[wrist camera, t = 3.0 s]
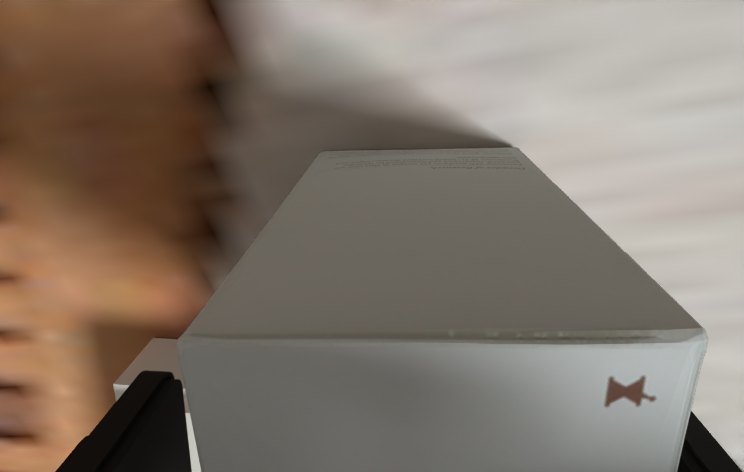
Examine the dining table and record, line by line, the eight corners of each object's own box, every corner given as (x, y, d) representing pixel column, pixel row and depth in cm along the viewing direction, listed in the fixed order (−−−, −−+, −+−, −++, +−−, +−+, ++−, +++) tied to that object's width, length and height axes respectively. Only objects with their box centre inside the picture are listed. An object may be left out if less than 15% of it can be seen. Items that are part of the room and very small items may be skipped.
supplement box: (315, 146, 19) (157, 324, 7) (522, 144, 18) (743, 331, 6) (326, 324, 21) (226, 677, 9) (508, 326, 21) (644, 702, 9)
